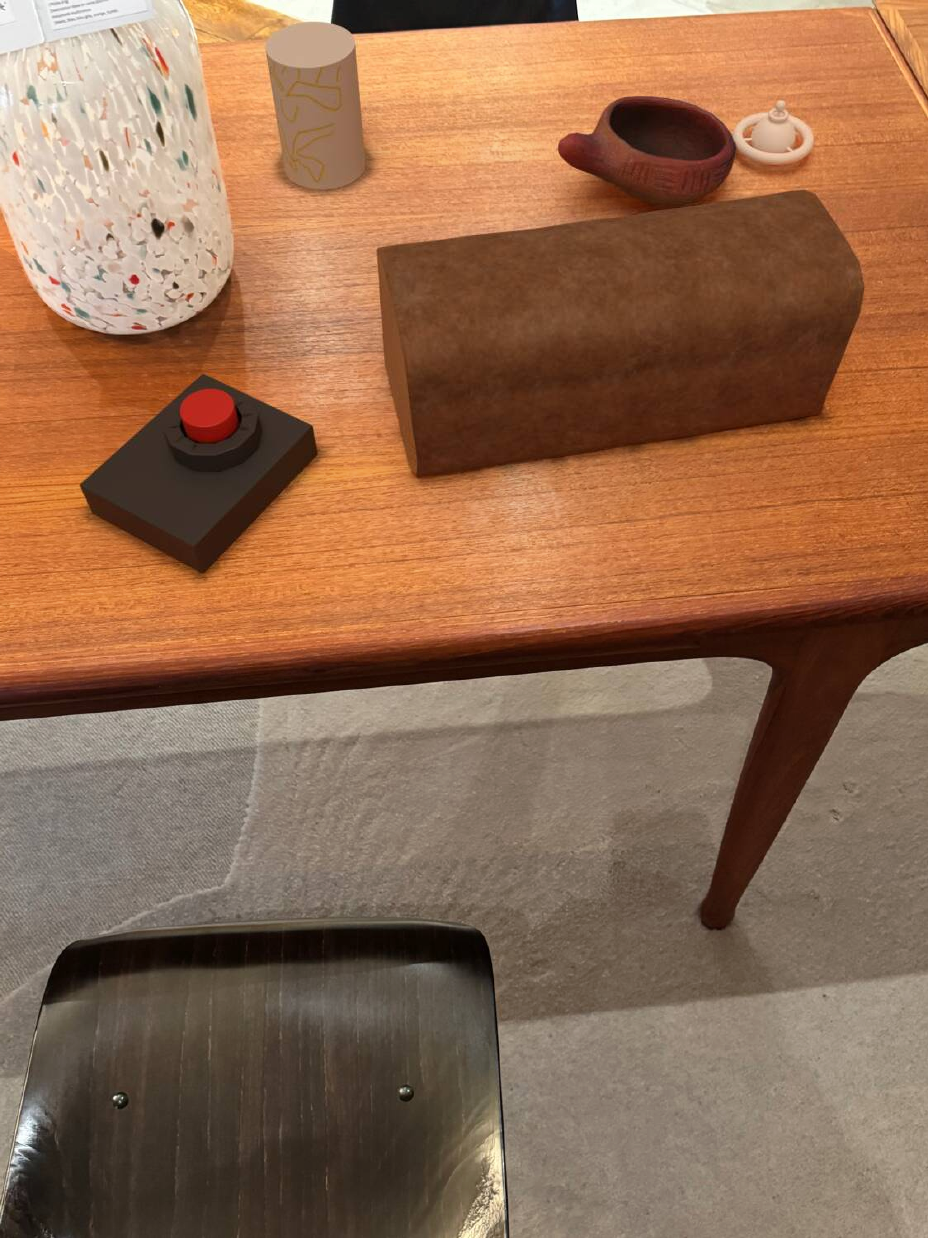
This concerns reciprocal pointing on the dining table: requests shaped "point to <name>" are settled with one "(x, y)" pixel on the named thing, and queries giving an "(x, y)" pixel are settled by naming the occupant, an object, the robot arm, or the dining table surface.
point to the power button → (209, 415)
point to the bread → (615, 330)
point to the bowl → (655, 150)
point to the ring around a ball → (773, 137)
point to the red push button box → (200, 477)
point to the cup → (317, 104)
